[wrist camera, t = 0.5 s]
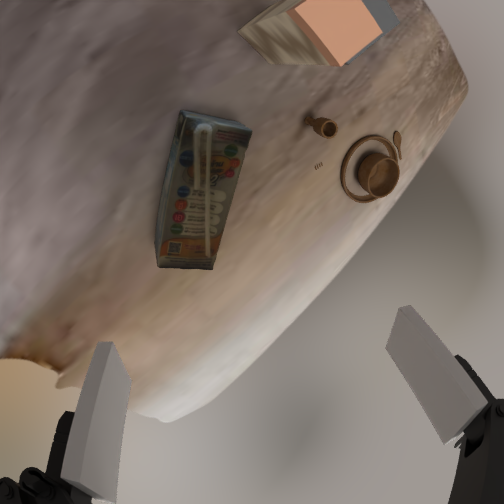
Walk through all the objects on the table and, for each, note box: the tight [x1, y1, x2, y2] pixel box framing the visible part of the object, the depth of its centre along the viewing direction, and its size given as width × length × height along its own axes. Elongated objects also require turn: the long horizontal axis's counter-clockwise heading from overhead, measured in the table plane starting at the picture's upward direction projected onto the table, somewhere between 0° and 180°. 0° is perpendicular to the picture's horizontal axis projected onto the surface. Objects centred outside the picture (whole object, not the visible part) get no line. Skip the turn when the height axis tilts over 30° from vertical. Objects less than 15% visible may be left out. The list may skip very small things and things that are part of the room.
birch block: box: [237, 0, 383, 67], centre depth 21 cm, size 6×6×15 cm
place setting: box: [305, 117, 402, 203], centre depth 39 cm, size 18×20×6 cm
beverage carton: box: [154, 110, 252, 270], centre depth 34 cm, size 8×19×7 cm, turn 162°
